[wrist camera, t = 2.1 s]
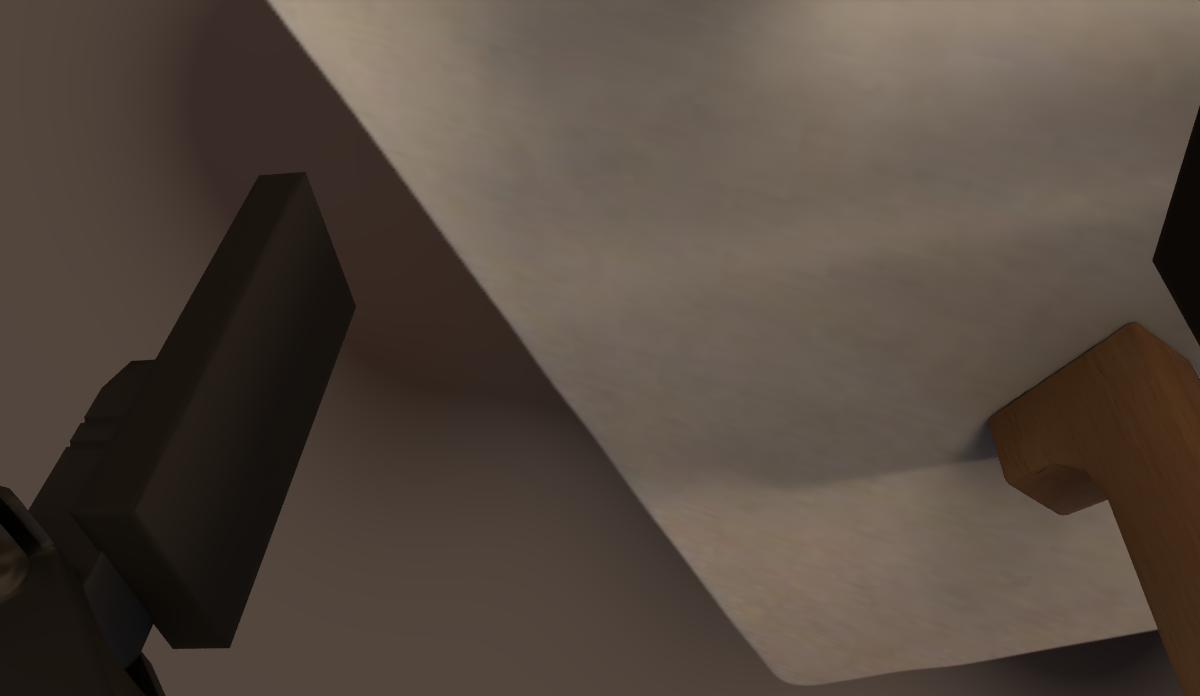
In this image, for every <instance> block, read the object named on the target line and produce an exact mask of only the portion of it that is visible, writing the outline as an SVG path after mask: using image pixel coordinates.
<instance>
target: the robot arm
mask: <svg viewBox="0 0 1200 696" xmlns="http://www.w3.org/2000/svg"><path fill="white" fill-rule="evenodd" d="M1152 261H1153V263H1154V265H1155V266H1156V268H1157V270H1158V272H1159V274H1160V275H1161V277H1162V279H1163V281H1164V283H1165V284H1166V286H1167V288H1168V290H1169V292H1170V293H1171V295H1172V297H1173V299H1174V301H1175V302H1176V304H1177V306H1178V308H1179V310H1180V311H1181V313H1182V315H1183V317H1184V319H1185V320H1186V322H1187V324H1188V326H1189V328H1190V329H1191V331H1192V333H1193V335H1194V337H1195V338H1196V340H1197V342H1198V344H1199V346H1200V107H1199V110H1198V113H1197V116H1196V120H1195V123H1194V126H1193V130H1192V133H1191V136H1190V139H1189V143H1188V146H1187V149H1186V152H1185V156H1184V159H1183V162H1182V165H1181V169H1180V172H1179V175H1178V179H1177V182H1176V185H1175V188H1174V192H1173V195H1172V198H1171V201H1170V205H1169V208H1168V211H1167V215H1166V218H1165V221H1164V224H1163V228H1162V231H1161V234H1160V237H1159V241H1158V244H1157V247H1156V250H1155V254H1154V257H1153V260H1152ZM355 308H356V305H355V303H354V300H353V297H352V295H351V292H350V289H349V287H348V284H347V281H346V279H345V276H344V273H343V271H342V268H341V265H340V263H339V260H338V257H337V255H336V252H335V249H334V247H333V244H332V241H331V239H330V236H329V234H328V231H327V228H326V225H325V223H324V220H323V218H322V215H321V212H320V210H319V207H318V205H317V202H316V199H315V196H314V194H313V191H312V188H311V186H310V183H309V180H308V178H307V175H306V173H305V172H300V173H287V174H273V175H260V176H258V178H257V180H256V182H255V183H254V185H253V187H252V189H251V191H250V192H249V194H248V196H247V198H246V200H245V201H244V203H243V205H242V207H241V209H240V210H239V212H238V214H237V216H236V217H235V219H234V221H233V223H232V225H231V226H230V228H229V230H228V232H227V233H226V235H225V237H224V239H223V240H222V242H221V244H220V246H219V247H218V249H217V251H216V253H215V255H214V256H213V258H212V260H211V262H210V263H209V265H208V267H207V269H206V271H205V273H204V274H203V276H202V278H201V279H200V282H199V283H198V285H197V287H196V288H195V290H194V292H193V294H192V295H191V297H190V299H189V301H188V303H187V304H186V306H185V308H184V310H183V312H182V313H181V315H180V317H179V319H178V320H177V322H176V324H175V326H174V328H173V330H172V331H171V333H170V335H169V336H168V338H167V340H166V342H165V344H164V345H163V347H162V349H161V351H160V352H159V355H158V356H157V358H156V359H155V360H144V361H131V362H130V363H129V364H128V365H127V366H126V367H124V368H123V369H122V370H121V371H120V372H119V373H118V374H117V375H116V376H115V377H114V378H112V379H111V380H110V381H109V382H108V383H107V384H106V385H105V386H104V387H102V389H101V390H100V392H99V394H98V395H97V397H96V399H95V401H94V402H93V404H92V405H91V407H90V409H89V410H88V412H87V414H86V416H85V417H84V418H85V422H84V423H81V424H80V425H79V427H78V429H77V430H76V432H75V434H74V435H73V437H72V439H71V440H70V443H71V445H70V447H66V449H65V450H64V452H63V453H62V455H61V457H60V459H59V460H58V462H57V464H56V465H55V467H54V469H53V470H52V472H51V474H50V475H49V477H48V478H47V480H46V482H45V483H44V485H43V487H42V489H41V490H40V492H39V494H38V495H37V497H36V498H35V500H34V502H33V503H32V505H31V507H30V509H29V510H27V509H26V507H25V506H24V505H23V504H22V502H21V501H20V500H19V499H18V498H17V496H16V495H15V494H14V493H13V492H12V491H11V490H10V489H9V488H6V487H2V486H0V696H165V693H164V691H163V689H162V687H161V684H160V682H159V680H158V678H157V675H156V673H155V671H154V669H153V666H152V664H151V663H150V661H149V660H148V659H147V658H146V656H145V655H144V654H143V653H142V648H143V646H144V644H145V641H146V639H147V637H148V635H149V632H150V630H151V628H152V625H153V624H154V625H155V626H156V627H157V629H158V630H159V631H160V633H161V634H162V635H163V637H164V638H165V639H166V641H167V642H168V643H169V644H170V646H171V647H172V648H173V649H190V648H191V649H196V648H230V646H231V643H232V640H233V638H234V635H235V632H236V630H237V627H238V624H239V622H240V619H241V616H242V613H243V611H244V608H245V605H246V603H247V600H248V597H249V595H250V592H251V589H252V586H253V584H254V581H255V578H256V576H257V573H258V570H259V567H260V565H261V562H262V559H263V557H264V554H265V551H266V549H267V546H268V543H269V541H270V538H271V535H272V532H273V530H274V527H275V524H276V522H277V519H278V516H279V514H280V511H281V508H282V505H283V503H284V500H285V497H286V495H287V492H288V489H289V486H290V484H291V481H292V478H293V476H294V473H295V470H296V468H297V465H298V462H299V459H300V457H301V454H302V451H303V449H304V446H305V443H306V440H307V438H308V435H309V432H310V430H311V427H312V424H313V422H314V419H315V416H316V414H317V410H318V408H319V405H320V403H321V400H322V397H323V395H324V392H325V389H326V387H327V384H328V381H329V378H330V376H331V373H332V370H333V368H334V365H335V362H336V359H337V357H338V354H339V351H340V348H341V346H342V343H343V341H344V338H345V335H346V333H347V330H348V327H349V324H350V321H351V319H352V316H353V314H354V311H355Z"/></svg>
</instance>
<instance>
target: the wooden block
mask: <svg viewBox="0 0 1200 696" xmlns="http://www.w3.org/2000/svg"><path fill="white" fill-rule="evenodd" d="M989 427H990V430H991V434H992V437H993V440H994V444H995V447H996V450H997V454H998V457H999V461H1000V464H1001V467H1002V471H1003V474H1004V478H1005V479H1006V481H1007V482H1008V484H1009V485H1011V486H1012V487H1014V488H1016V489H1017V490H1019V491H1021V492H1022V493H1024V494H1026V495H1027V496H1029V497H1031V498H1032V499H1034V500H1036V501H1037V502H1039V503H1041V504H1042V505H1044V506H1046V507H1047V508H1049V509H1051V510H1052V511H1054V512H1056V513H1057V514H1059V515H1069V514H1071V513H1074V512H1077V511H1079V510H1082V509H1084V508H1087V507H1090V506H1092V505H1095V504H1098V503H1100V502H1103V501H1105V500H1108V501H1109V503H1110V506H1111V508H1112V511H1113V514H1114V516H1115V519H1116V521H1117V524H1118V527H1119V529H1120V532H1121V534H1122V537H1123V539H1124V542H1125V545H1126V547H1127V550H1128V552H1129V555H1130V558H1131V560H1132V563H1133V565H1134V568H1135V571H1136V573H1137V576H1138V578H1139V581H1140V584H1141V586H1142V589H1143V591H1144V594H1145V597H1146V599H1147V602H1148V604H1149V607H1150V610H1151V612H1152V615H1153V617H1154V620H1155V622H1156V625H1157V628H1158V630H1159V632H1160V635H1161V638H1162V640H1163V643H1164V646H1165V648H1166V651H1167V654H1168V656H1169V659H1170V661H1171V664H1172V667H1173V669H1174V672H1175V674H1176V677H1177V680H1178V682H1179V685H1180V687H1181V690H1182V692H1183V695H1184V696H1200V380H1199V378H1198V376H1197V374H1196V372H1195V370H1194V368H1193V366H1192V364H1191V362H1190V361H1189V360H1188V359H1187V358H1185V357H1184V356H1182V355H1181V354H1180V353H1178V352H1177V351H1175V350H1174V349H1173V348H1171V347H1170V346H1169V345H1167V344H1166V343H1164V342H1163V341H1162V340H1160V339H1159V338H1158V337H1156V336H1155V335H1153V334H1152V333H1151V332H1149V331H1148V330H1147V329H1145V328H1144V327H1142V326H1141V325H1139V324H1138V323H1134V322H1133V323H1130V324H1127V325H1126V326H1124V327H1123V328H1122V329H1120V330H1119V331H1117V332H1116V333H1114V334H1113V335H1111V336H1110V337H1108V338H1107V339H1105V340H1104V341H1102V342H1101V343H1099V344H1098V345H1096V346H1095V347H1094V348H1092V349H1091V350H1089V351H1088V352H1086V353H1085V354H1083V355H1082V356H1080V357H1079V358H1077V359H1076V360H1074V361H1073V362H1071V363H1070V364H1068V365H1067V366H1065V367H1064V368H1063V369H1061V370H1060V371H1058V372H1057V373H1055V374H1054V375H1052V376H1051V377H1049V378H1048V379H1046V380H1045V381H1043V382H1042V383H1040V384H1039V385H1037V386H1036V387H1035V388H1033V389H1032V390H1030V391H1029V392H1027V393H1026V394H1024V395H1023V396H1021V397H1020V398H1018V399H1017V400H1015V401H1014V402H1012V403H1011V404H1009V405H1008V406H1007V407H1005V408H1004V409H1002V410H1001V411H999V412H998V413H996V414H995V415H993V416H992V417H991V418H990V419H989Z"/></svg>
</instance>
